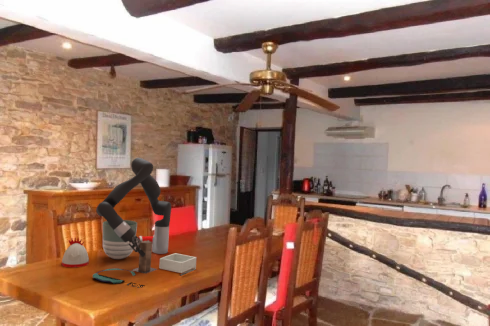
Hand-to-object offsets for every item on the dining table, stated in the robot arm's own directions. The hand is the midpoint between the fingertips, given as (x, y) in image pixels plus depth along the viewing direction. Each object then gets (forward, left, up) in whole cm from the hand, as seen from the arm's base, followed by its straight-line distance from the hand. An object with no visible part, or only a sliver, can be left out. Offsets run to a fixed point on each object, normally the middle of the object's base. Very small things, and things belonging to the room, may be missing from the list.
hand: (145, 253), depth 218 cm
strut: (0, 0, -9) cm, 9 cm away
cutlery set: (-1, -16, -11) cm, 19 cm away
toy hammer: (-35, +49, -11) cm, 61 cm away
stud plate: (0, 0, -10) cm, 10 cm away
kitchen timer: (-40, -10, -10) cm, 43 cm away
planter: (-30, +13, -10) cm, 34 cm away
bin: (+12, +14, -10) cm, 21 cm away
